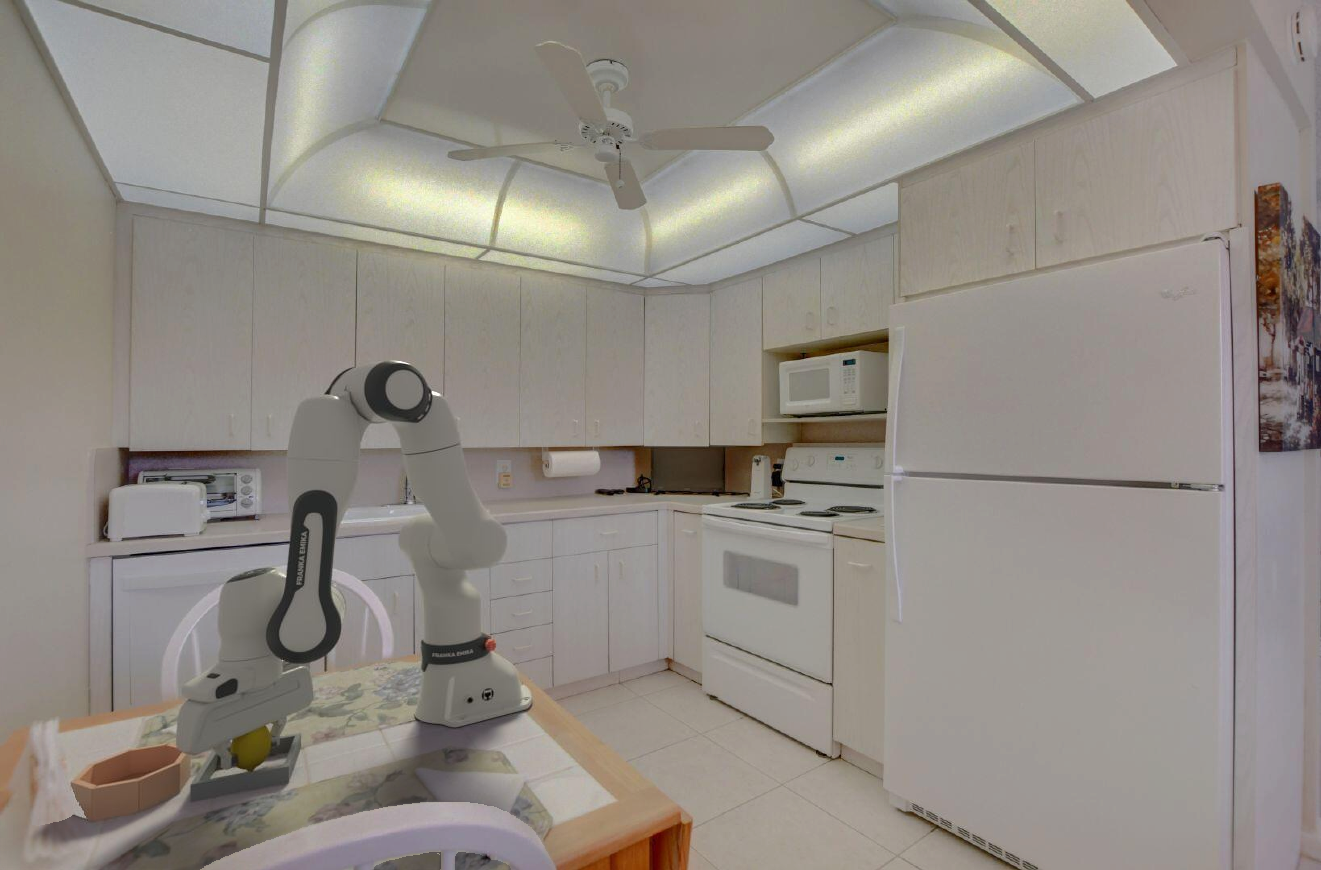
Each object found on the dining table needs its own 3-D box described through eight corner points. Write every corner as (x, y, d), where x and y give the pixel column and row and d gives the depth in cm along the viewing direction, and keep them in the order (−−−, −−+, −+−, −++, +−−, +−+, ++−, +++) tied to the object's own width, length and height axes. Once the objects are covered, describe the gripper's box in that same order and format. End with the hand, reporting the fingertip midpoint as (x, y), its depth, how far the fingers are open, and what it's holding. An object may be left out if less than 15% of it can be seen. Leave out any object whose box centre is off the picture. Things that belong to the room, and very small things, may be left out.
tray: (301, 747, 107) (301, 732, 107) (288, 782, 95) (288, 766, 95) (214, 762, 102) (214, 747, 102) (190, 801, 90) (190, 784, 91)
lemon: (250, 781, 96) (250, 730, 96) (221, 778, 97) (221, 727, 97) (279, 764, 101) (279, 715, 101) (251, 761, 102) (251, 712, 102)
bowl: (197, 765, 101) (197, 737, 101) (170, 805, 89) (171, 774, 90) (99, 782, 96) (99, 753, 96) (56, 828, 84) (57, 794, 85)
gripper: (296, 648, 110) (297, 726, 110) (169, 690, 91) (169, 784, 91) (322, 652, 108) (322, 731, 107) (196, 696, 89) (196, 792, 88)
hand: (251, 756), depth 99 cm, fingers closed on lemon, 6 cm apart
